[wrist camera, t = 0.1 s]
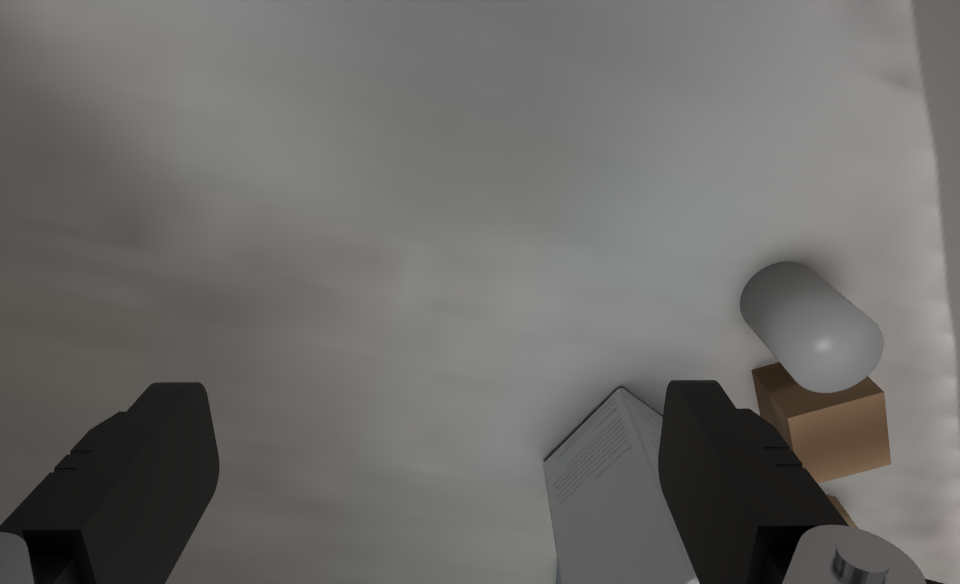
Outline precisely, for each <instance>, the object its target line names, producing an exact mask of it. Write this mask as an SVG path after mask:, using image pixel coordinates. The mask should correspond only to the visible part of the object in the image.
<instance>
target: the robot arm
mask: <svg viewBox="0 0 960 584" xmlns="http://www.w3.org/2000/svg"><path fill="white" fill-rule="evenodd" d="M802 465H803V464H802V462H801V461H800V460H799V458H798V457H797V456H796V454H795V453H794V452H793V451H790V446H789V445H788V444H787V442H786V441H785V440H784V438H783V437H782V436H781V434H780V433H779V432H778V430H777V429H776V428H775V426H773V425H772V424H770V423H769V422H768V421H766V420H765V419H763V418H762V417H760V416H759V415H757V414H756V413H754V412H753V411H752V410H750V409H736V408H735V406H734V405H733V403H732V402H731V400H730V399H729V397H728V396H727V394H726V393H725V391H724V390H723V389H722V387H721V386H720V384H719V383H718V382H717V381H715V380H672V381H671V382H670V383H669V384H668V387H667V391H666V398H665V406H664V414H663V422H662V429H661V437H660V445H659V453H658V473H659V480H660V485H661V489H662V492H663V495H664V498H665V500H666V502H667V505H668V507H669V510H670V512H671V515H672V517H673V520H674V522H675V525H676V527H677V529H678V532H679V534H680V537H681V539H682V542H683V544H684V547H685V549H686V552H687V554H688V557H689V559H690V561H691V564H692V566H693V569H694V571H695V574H696V576H697V579H698V581H699V584H943V583H939V582H935V581H931V580H928V579H925V578H924V576H923V574H922V572H921V570H920V569H919V568H918V566H917V565H916V564H915V563H914V561H913V560H912V559H911V558H910V557H909V556H908V555H906V554H905V553H904V552H903V551H901V550H900V549H899V548H897V547H896V546H894V545H893V544H891V543H890V542H888V541H886V540H884V539H883V538H881V537H879V536H876V535H874V534H872V533H870V532H867V531H864V530H861V529H858V528H853V527H850V526H849V525H848V524H847V522H846V521H845V520H844V518H843V517H842V516H841V514H840V513H839V512H838V510H837V509H836V508H835V506H834V505H833V504H832V502H831V501H830V500H829V498H828V497H827V496H826V494H825V493H824V492H823V490H822V489H821V488H820V486H819V485H818V484H817V482H816V481H815V480H814V478H813V477H812V476H811V474H810V473H809V472H808V470H807V469H806V468H803V466H802ZM218 476H219V456H218V450H217V445H216V439H215V434H214V429H213V423H212V418H211V413H210V407H209V402H208V396H207V392H206V390H205V388H204V386H203V385H202V384H201V383H199V382H164V383H153V384H151V385H150V386H149V387H148V388H147V389H146V390H145V391H144V392H143V394H142V395H141V396H140V397H139V398H138V399H137V400H136V402H135V403H134V404H133V405H132V406H131V407H130V408H129V409H128V411H127V412H118V413H117V414H115V415H113V416H112V417H110V418H108V419H107V420H105V421H104V422H102V423H100V424H99V425H97V426H95V427H94V428H92V429H91V430H89V431H88V433H87V434H86V435H85V436H84V437H83V438H82V439H81V440H80V441H79V442H78V443H77V444H76V445H75V446H74V448H73V449H72V450H71V454H70V455H66V456H65V457H64V458H63V459H62V460H61V461H60V462H59V464H58V465H57V466H56V467H55V468H54V473H49V474H48V475H47V476H46V477H45V478H44V480H43V481H42V482H41V483H40V484H39V485H38V486H37V487H36V488H35V489H34V490H33V491H32V492H31V493H30V494H29V496H28V497H27V498H26V499H25V500H24V501H23V502H22V503H21V504H20V505H19V506H18V507H17V508H16V509H15V510H14V512H13V513H12V514H11V515H10V516H9V517H8V518H7V519H6V520H5V521H4V522H3V523H2V524H1V525H0V584H165V582H166V581H167V579H168V577H169V575H170V573H171V571H172V570H173V568H174V566H175V564H176V562H177V561H178V559H179V557H180V555H181V553H182V551H183V550H184V548H185V546H186V544H187V542H188V540H189V539H190V537H191V535H192V533H193V531H194V529H195V528H196V526H197V524H198V522H199V520H200V518H201V517H202V515H203V513H204V511H205V509H206V507H207V506H208V504H209V502H210V500H211V498H212V496H213V494H214V492H215V489H216V486H217V482H218Z"/></svg>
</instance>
